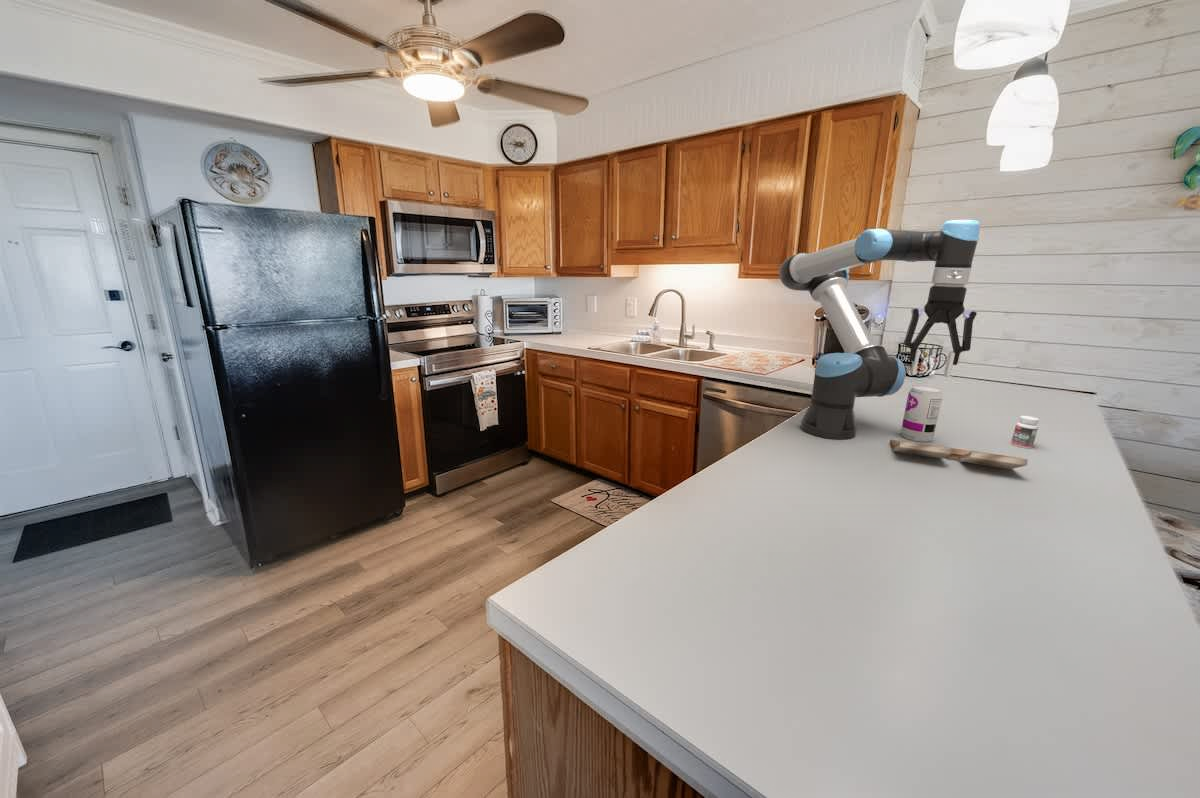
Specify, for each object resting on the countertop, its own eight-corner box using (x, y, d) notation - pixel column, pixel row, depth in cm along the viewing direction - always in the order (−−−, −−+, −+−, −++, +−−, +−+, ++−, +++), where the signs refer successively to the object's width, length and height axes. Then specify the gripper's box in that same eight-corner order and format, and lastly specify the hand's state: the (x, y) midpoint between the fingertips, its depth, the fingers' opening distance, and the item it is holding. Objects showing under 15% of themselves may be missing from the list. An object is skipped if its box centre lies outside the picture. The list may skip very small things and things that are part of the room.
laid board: (892, 450, 130) (893, 445, 130) (889, 443, 136) (890, 438, 135) (1011, 468, 121) (1012, 462, 120) (1002, 460, 126) (1004, 454, 125)
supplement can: (904, 440, 139) (915, 390, 135) (896, 431, 146) (906, 384, 142) (937, 444, 136) (948, 393, 132) (927, 435, 144) (937, 386, 140)
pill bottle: (1007, 443, 138) (1014, 416, 136) (1016, 441, 140) (1023, 414, 138) (1026, 449, 134) (1034, 421, 132) (1035, 447, 136) (1043, 419, 134)
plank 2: (970, 456, 117) (971, 450, 117) (959, 461, 124) (960, 455, 124) (1027, 465, 112) (1027, 458, 113) (1012, 468, 120) (1012, 463, 120)
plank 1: (899, 446, 122) (900, 440, 123) (893, 451, 130) (893, 445, 130) (951, 454, 118) (951, 448, 118) (941, 458, 125) (941, 452, 126)
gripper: (905, 284, 120) (888, 373, 126) (1002, 287, 113) (979, 382, 119) (900, 283, 127) (884, 368, 133) (992, 286, 119) (970, 376, 126)
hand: (929, 375), depth 126 cm, fingers open, 7 cm apart
